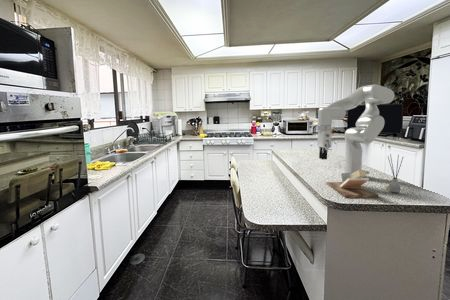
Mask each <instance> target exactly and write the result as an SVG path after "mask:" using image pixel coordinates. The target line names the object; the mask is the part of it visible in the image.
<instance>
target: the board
mask: <svg viewBox="0 0 450 300" xmlns="http://www.w3.org/2000/svg"><path fill="white" fill-rule="evenodd" d="M325 183H326V184H325ZM324 184H325V185H327V186H328V187H329V188H331V189H332V188H333V189H332V190H334V191H335V192H336V191H337V193H338V194H339V195H341V196H342V197H343V198H345V199H365V198H367V199H370V198H371V199H372V198H373V199H376V198H377V199H378V198H379V197H380V196H379V193H377V192H374V191H372V190H370V189H368V188H366V187H364V186H363V185H362V186H360V187H357V188H340V185H341V184H342V181H340V182H339V181H337V182H336V181H334V182H333V181H331V182H329V181H328V182H324Z"/></svg>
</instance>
